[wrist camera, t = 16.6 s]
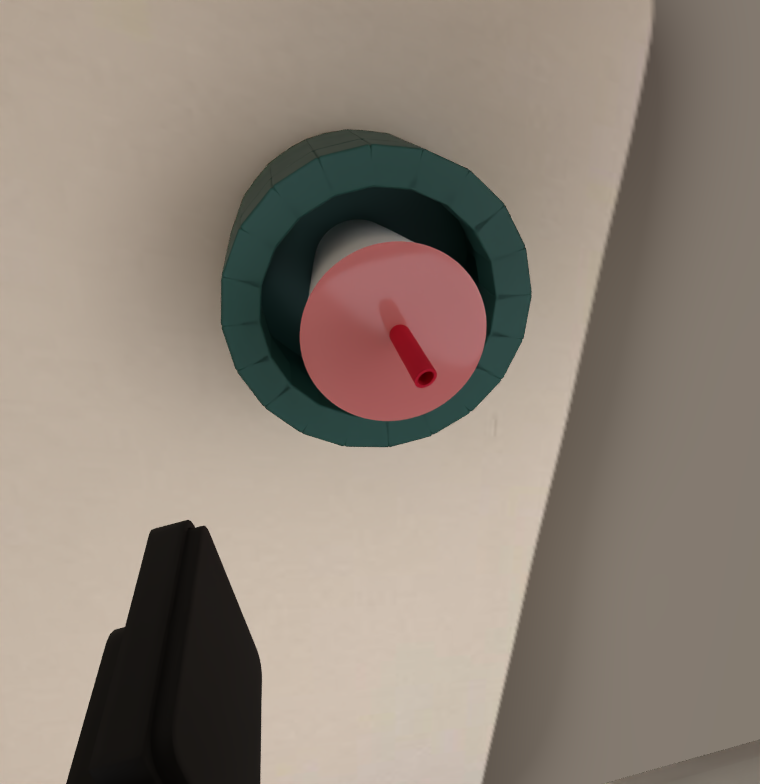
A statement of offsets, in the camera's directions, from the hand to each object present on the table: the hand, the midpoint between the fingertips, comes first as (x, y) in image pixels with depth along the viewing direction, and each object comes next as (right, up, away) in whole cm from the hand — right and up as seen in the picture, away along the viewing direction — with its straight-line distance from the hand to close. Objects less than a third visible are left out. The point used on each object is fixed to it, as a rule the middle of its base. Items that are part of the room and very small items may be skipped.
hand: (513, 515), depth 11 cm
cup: (-3, +7, +17) cm, 19 cm away
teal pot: (-3, +7, +17) cm, 19 cm away
